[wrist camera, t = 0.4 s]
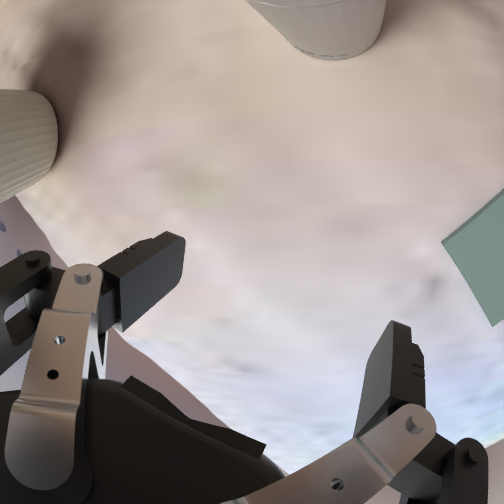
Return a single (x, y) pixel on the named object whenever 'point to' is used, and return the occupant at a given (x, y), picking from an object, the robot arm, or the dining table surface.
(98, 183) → the dining table surface
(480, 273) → the mat
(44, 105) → the canister
